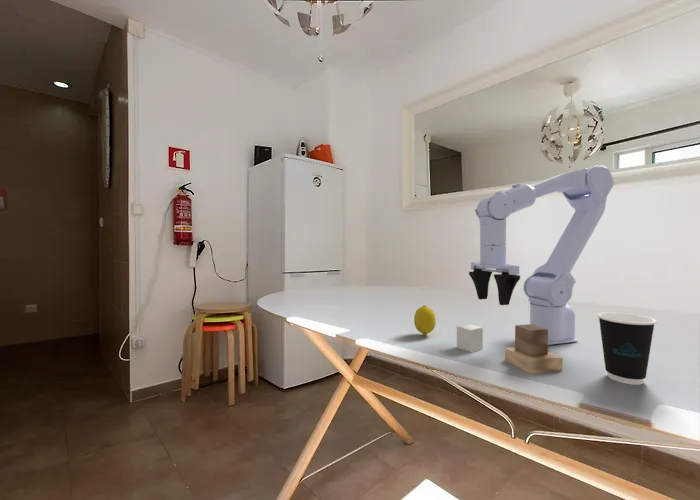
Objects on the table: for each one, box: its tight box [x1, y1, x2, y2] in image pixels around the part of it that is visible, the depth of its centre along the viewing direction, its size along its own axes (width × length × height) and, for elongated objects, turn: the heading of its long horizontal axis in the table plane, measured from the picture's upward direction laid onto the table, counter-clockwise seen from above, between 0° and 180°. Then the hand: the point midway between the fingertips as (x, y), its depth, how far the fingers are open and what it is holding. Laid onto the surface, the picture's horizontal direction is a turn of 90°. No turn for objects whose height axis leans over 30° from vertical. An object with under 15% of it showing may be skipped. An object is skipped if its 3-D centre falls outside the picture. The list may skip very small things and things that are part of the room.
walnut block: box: [514, 323, 549, 356], centre depth 63 cm, size 4×4×5 cm
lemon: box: [413, 304, 437, 336], centre depth 84 cm, size 6×6×8 cm
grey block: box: [456, 323, 484, 353], centre depth 74 cm, size 4×4×5 cm
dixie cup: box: [596, 311, 657, 386], centre depth 56 cm, size 8×8×11 cm
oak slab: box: [504, 346, 563, 374], centre depth 63 cm, size 7×7×3 cm
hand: (492, 301), depth 77 cm, fingers open, 7 cm apart
